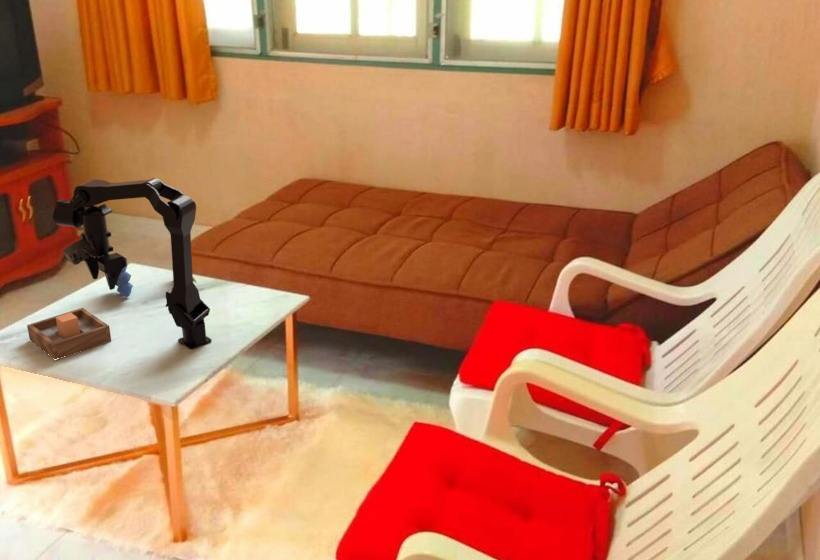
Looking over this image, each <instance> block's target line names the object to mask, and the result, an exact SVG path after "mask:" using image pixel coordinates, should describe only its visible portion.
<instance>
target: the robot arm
mask: <svg viewBox="0 0 820 560" xmlns="http://www.w3.org/2000/svg"><path fill="white" fill-rule="evenodd" d="M142 198H146V200H147V201H149V203H150V205H151V206H152V209H154V211H155V212H156V213H158V214H159V215H160V216H161V217H162V220H163V221H162V222H163V225H164V227H165V228H166V229H167V231H168V233H169V235H170V247H171V262H172V263H171V265H172V267H171V268H172V280H173V285H172V287H171V288H170V289H168V290H167V291H165V300H166V304H165V308H167V309H168V310H167V311H168V312H169V314H170V315H171V317H172V319H173V321H174V323H175V326H176V327H178V328H181V332H182V337H180V338H178V339H177V342H179V343H181V344H182V345H183V346H185V347H187V348H188V349H189V350H194V349H196V348H199V347H201V346H203V345H206V344H208V343H211V342H212V338H210V337H209V336H207V333H206V322H205V318H206V317H208V316H209V315H210V311H211V308H210V307H209V306H208V305H207V304H206V303H205V302H204V301H203V300H202V299H201V297H200V292H199V289H198V288H197V286H196V285H195V282H194V281H193V277H194V276H193V260H192V256H193V254H192V241H191V240H192V238H191V231H192V228H193V225H194V222H195V220H196V215H197V214H196V213H197V204H196V201H195V200H193V199H192V198H191V197H190V196H188V195H186V194H184V193H183V192H182V191H181V190H180V189H179V188H176V187H173V186H170V185H168V184H166V183H165V182H164V181H162V180H161V179H159V178H155V177H153V178H150V179H141V180H132V181H131V180H130V181H119V182H109V181H107V180H105V179H103V180H102V179H91V180H87V181H86V182H84V183H82V184H80V185H77V186H75V187H74V190H73V196H72V198H71V200H68V199H64V198H62V199H58V200H57V201H56V202H55V203H56V206H55V207H54V210H53V213H52V219H53V222H54V224H56V225H57V226H63V227H64V226H65V227H72V228H81V227H82V229H83V232H81V233H80V237H79V238H80V239H79V240H78V241H75V242H73V243H72V244H70V245H68V246H67V247H65V248H64V249H63V250H62V253H63V254H64V256H65V257H66V258H65V259H67V261H68V262H70V263H72V264H73V265H79V264H80V263H81V262H84V263H85V265H86V267H87V270H88V271H89V274H90V275H91V277H92V280H98V278H99V273H100V271H101V272H102V273H104V275H105V278H106V279H107V280H106V279H105V280H106V283H107V286H108V287H109V290H110V291H112V290H114V289H115V288H116V283H117V280H118V278H119V275H120V273H121V271H122V269H123V268H125V267H126V266H127V267H128V258H127V257H125V256H124V255H122V254H120V253H118V252H114V247H113V246H111V245H110V239H109V237H112V233H111V231H109V230H108V225H107V217H106V216H108V215H109V214H111V213H113V209H111V208H110V207H109V206H107V205H106V204H105V202H108V201H114V200H116V201H118V200H126V199H127V200H128V199H142ZM163 198H164V199H166V200H169V201H168V202H166V201H165V200H164V199H163ZM102 203H104V204H102ZM100 204H101V205H100ZM98 205H99V206H98ZM110 252H113V253H111V254H110Z"/></svg>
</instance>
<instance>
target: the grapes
mask: <svg viewBox="0 0 820 560" xmlns="http://www.w3.org/2000/svg"><path fill="white" fill-rule="evenodd" d="M127 269H128V265H127V266H126V267H125V268H123V269H122V271H121V273H120V275H119V278H118V280H117V283H116V285H115V287H117V289H116V292H118V293H119V294H120V295H122V296H123V297H124V298H129V297H130V296H131V294H132V290H133V287H134V286H133V284H131V282H130V281H131V277H132V275H131V274H130V273H129V272H127ZM105 280H106V281H107V279H105Z"/></svg>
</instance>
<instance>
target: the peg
mask: <svg viewBox="0 0 820 560" xmlns="http://www.w3.org/2000/svg"><path fill="white" fill-rule="evenodd" d="M69 312H70V311H69ZM66 313H67V312H66ZM63 314H64V313H63ZM60 315H61V314H60ZM57 316H58V315H57ZM56 323H57V328H58V334H59V336H60V337H61V338H63V339H66V338H69V337H72V336H75V335H78V334H80V329H79V323H78V317H76V316H75V315H73V314H72V313H71V312H70V313H67V314H64V315H61V316H58V317H56Z"/></svg>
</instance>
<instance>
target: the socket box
mask: <svg viewBox="0 0 820 560" xmlns="http://www.w3.org/2000/svg"><path fill="white" fill-rule="evenodd" d="M70 312H71V313H72V314H73V315H75V316H76V317H78V323H79V329H80V334H78V335H75V336H72V337H69V338H66V339H63V338H61V337H60V336H59V334H58V328H57V323H56V317H58V316H61V315H64V314H67V313H70ZM26 327H27V332H28V333H27V334H28V338H29V341H30V340H31V341H32V342H31V341H30V342H31V343H32V344H34V343H35V344H36V345H37V346H36V345H35V344H34V345H35V346H36V347H38V346H39V347H40V348H41V349H42V350H44V351H45V352H46V353H47V354H49V355H50V356H51V357H52V358H54V359H57V358H61V357H64V356H67V357H69V356H68V355H70V356H72V355H71V354H73V355H75V354H74V353H76V354H78V353H77V352H79V353H81V352H80V351H82V352H84V351H87V350H89V349H93V348H95V347H98V346H101V345H103V344H107V343H110V342H112V336H111V329H110V325H109V324H107V323H106V322H105V321H103V320H101V319H100V318H98V317H97V316H96V315H94V314H93V313H91V312H90V311H88V310H87V309H85V308H84V307H80V308H77V309H74V310H71V311H68V312H64V313H60V314H57V315H55V316H52V317H48V318H45V319H42V320H40V321H39V320H38V321H35V322H33V323H29V324H27V325H26ZM39 347H38V348H39ZM40 348H39V349H40ZM41 349H40V350H41ZM42 350H41V351H42ZM83 350H84V351H83ZM44 351H43V352H44ZM45 352H44V353H45ZM46 353H45V354H46ZM47 354H46V355H47ZM49 355H48V356H49ZM50 356H49V357H50ZM51 357H50V358H51ZM52 358H51V359H52ZM54 359H53V360H54Z"/></svg>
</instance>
